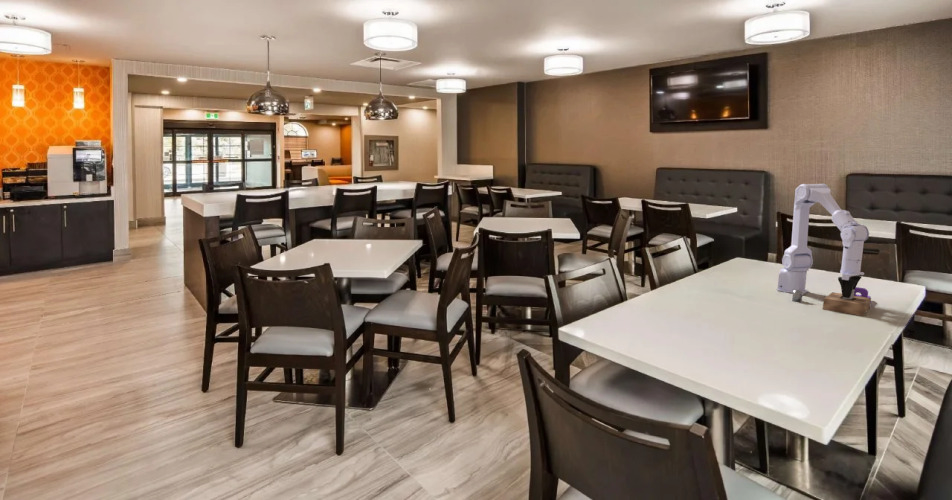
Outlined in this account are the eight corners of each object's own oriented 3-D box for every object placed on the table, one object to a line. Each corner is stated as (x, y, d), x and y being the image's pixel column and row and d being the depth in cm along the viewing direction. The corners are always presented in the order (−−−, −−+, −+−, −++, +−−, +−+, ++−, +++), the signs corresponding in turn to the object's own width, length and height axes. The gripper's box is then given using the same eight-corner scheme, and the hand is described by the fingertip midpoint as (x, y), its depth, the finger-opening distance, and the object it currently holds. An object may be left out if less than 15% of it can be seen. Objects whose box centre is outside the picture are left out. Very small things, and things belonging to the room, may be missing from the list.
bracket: (865, 308, 201) (867, 289, 200) (843, 304, 205) (845, 287, 204) (870, 301, 210) (872, 283, 208) (848, 298, 214) (850, 281, 213)
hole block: (822, 309, 199) (823, 298, 198) (831, 302, 207) (832, 292, 206) (862, 315, 190) (863, 304, 190) (869, 308, 199) (871, 298, 198)
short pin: (791, 301, 210) (792, 290, 209) (793, 299, 212) (794, 289, 211) (800, 302, 208) (801, 292, 207) (802, 300, 210) (803, 290, 209)
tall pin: (839, 308, 199) (843, 288, 197) (841, 307, 201) (845, 287, 200) (850, 310, 197) (853, 290, 195) (852, 309, 199) (855, 289, 197)
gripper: (860, 263, 188) (856, 302, 190) (869, 257, 198) (865, 294, 200) (836, 261, 193) (832, 298, 195) (846, 255, 203) (842, 291, 205)
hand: (847, 296), depth 198 cm, fingers open, 4 cm apart
